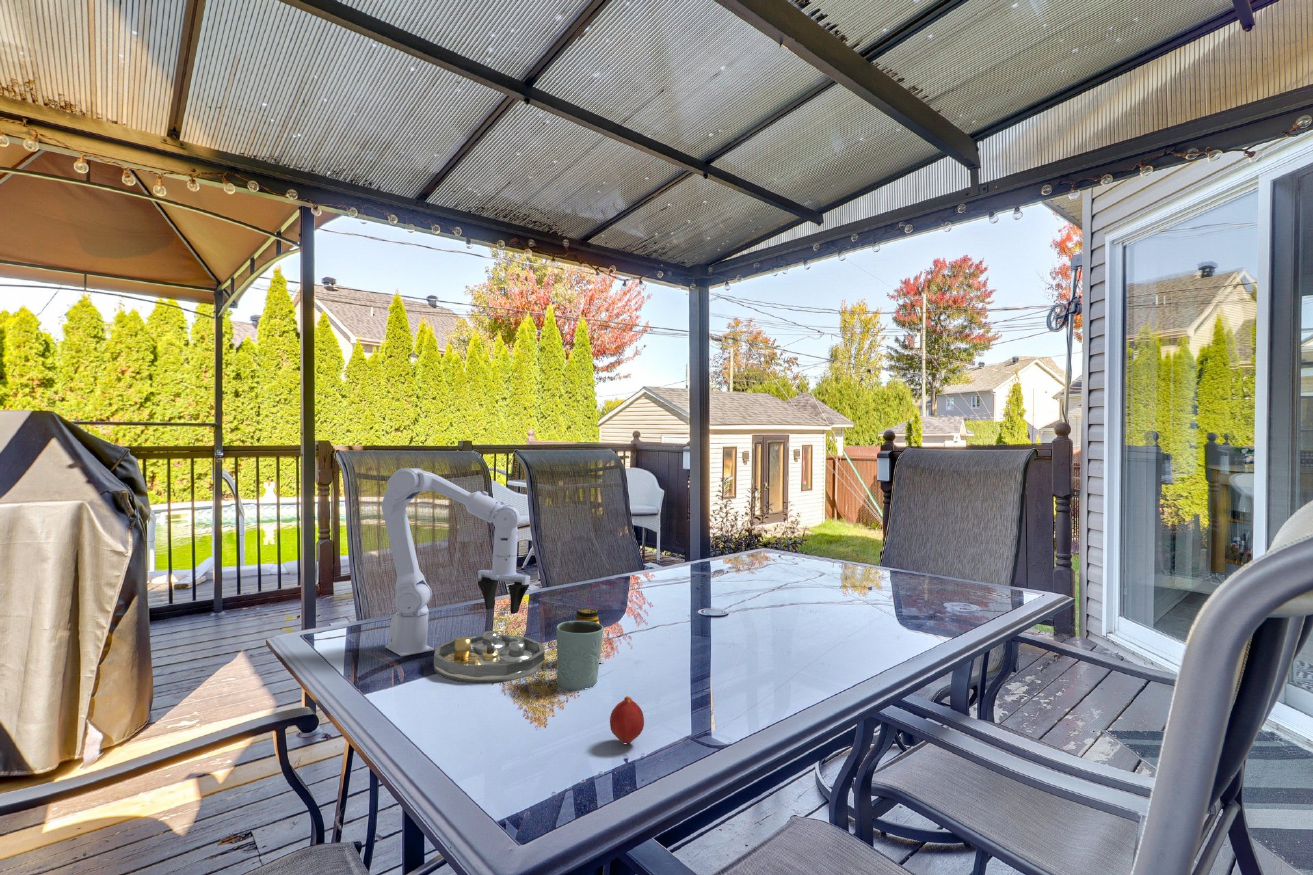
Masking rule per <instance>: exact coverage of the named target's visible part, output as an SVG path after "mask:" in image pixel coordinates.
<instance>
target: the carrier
mask: <svg viewBox="0 0 1313 875" xmlns="http://www.w3.org/2000/svg"><path fill="white" fill-rule="evenodd" d="M469 637H470V638H471V650H470V653H475V654H477V655H479V656H480V663H479V664H478V665H474V664H466V663H459V662H452V661H450V660H448V659H446V658H445V657H446V656H448V655H449V654H454V650H455V639H456V638H454V639H451V640H449V641H448V640H447V641H446V642H444V643H441V644H440V645H437V646H436V647H435V650H434V654H433V666H434V667H433V671H434V672H435V674H437V675H438V676H439V677H442V678H445V679H447V680H451V681H455V682H456V681H457V682H461V683H462V682H463V683H472V684H473V683H474V684H476V683H478V684H486V683H487V684H490V683H491V684H493V683H503V682H509V681H514V680H518V679H519V680H520V679H522V678H526V677H528V676H531V675H534V674H536V673H537V672H539V671H540V670H541V669H542V668H543V665H544V661H545V657H546V656H545V655H546V654H545V652H546V650H545V648H544V645H543V643H542V642H539V641H538V640H537V641H536V640H535V639H532V638H529V637H526V636H517V635H508V634H499V631H495V630H486V631H484V632H483V633H482V635H481V634H480V635H471V636H469Z"/></svg>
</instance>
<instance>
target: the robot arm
mask: <svg viewBox="0 0 1313 875" xmlns="http://www.w3.org/2000/svg"><path fill="white" fill-rule="evenodd" d="M422 492H435V493H437V494H440V495H441V496H444V497H446V498H449V499H451V500H453V501H456V502H458V503H460V504H463V505H464V506H465V509H466V512H467V513H469V514H471V515H473V516H474V517H477V518H479V519H480V520H483V521H485V522H487V523H488V524H490V523H491V524H493V526H494V527H495V528H494V537H493V551H492V552H493V554H492V568H491V569H490V570H489V569H480V570H478V572H477V579H480V580H478V581H477V585H478V587H479V589H480V592H481V594H482V597H483V600H484V601H483V602H484V606H485V610H492V609H494V607H495V602H496V593H497V587H498V583H499V581H500V582H504V583H505V582H506V583H512V584H508V591H509V596H510V597H509V599H510V606H509V607H510V609H509V611H510V614H511V615H514V614H518V613H519V611H520V607H521V604H522V601H523V599H524V596H525V594H526V592H527V590H528V589H529V588H530V585H531V575H526V574H523V573H522V574H521V573H519V572H517V560H518V556H517V555H518V540H519V538H518V533H519V530H518V525H519V522H520V520H521V514H520V512H519V510H518V509H517V508H516V507H514V505H511V504H508V505H507V504H506V501H504V500H501V501H499V500H497V499H495V497H491V496H489V492H487V491H485V490H484V491H482V492H481V491H479V490H477V491H475V492H470V491H468V490H466V489H464V488H462V487H461V486H458V485H457V484H455V483H453V482H451V481H449V480H448V479H445V477H443V476H440V475H438V474H436V473H432V472H430V471H425V470H424V469H422V468H419V467H412V468H410V467H402V468H399V469H397V470H395V472H394V473H393V474H392V475H391V476H390V477H389V478H388V479H387V486H386V490H385V492H384V495H383V499H382V501H381V510H382V514H383V520H384V524H385V527H386V528H385V529H386V533H387V536H388V537H387V538H388V541H389V546H390V550H391V554H392V558H393V564H394V567H395V573H396V581H395V582H396V583H395V585H394V586H395V588H394V589H395V598H394V607H395V609H396V612H395V613H394V614H393V616H392V618H391V619H390V626H389V642H388V644H386V645H385V648H386V649H387V650H390V651H391V652H392V653H395V654H396V655H399V656H400V657H406V656H411V655H417V654H421V653H422V654H423V653H427V652H432V651H434V648H433V647H431V646H430V645H428V643H427V642H428V630H429V629H428V628H429V608H428V606H427V605H428V604H429V603H430V602H431V600H432V597H433V591H432V588H431V587H430V586H429V584H428V583H427V581H426V578H425V575H424V574H423V573H422V571H421V570H420V566H419V562H418V557H417V551H416V547H415V543H414V539H413V535H412V530H411V526H410V522H409V518H408V517H409V516H408V513H407V507H408V506H409V504H410V503H411V501H413V499H414V498H415V497H416V496H418V495H419V494H420V493H422Z"/></svg>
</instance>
